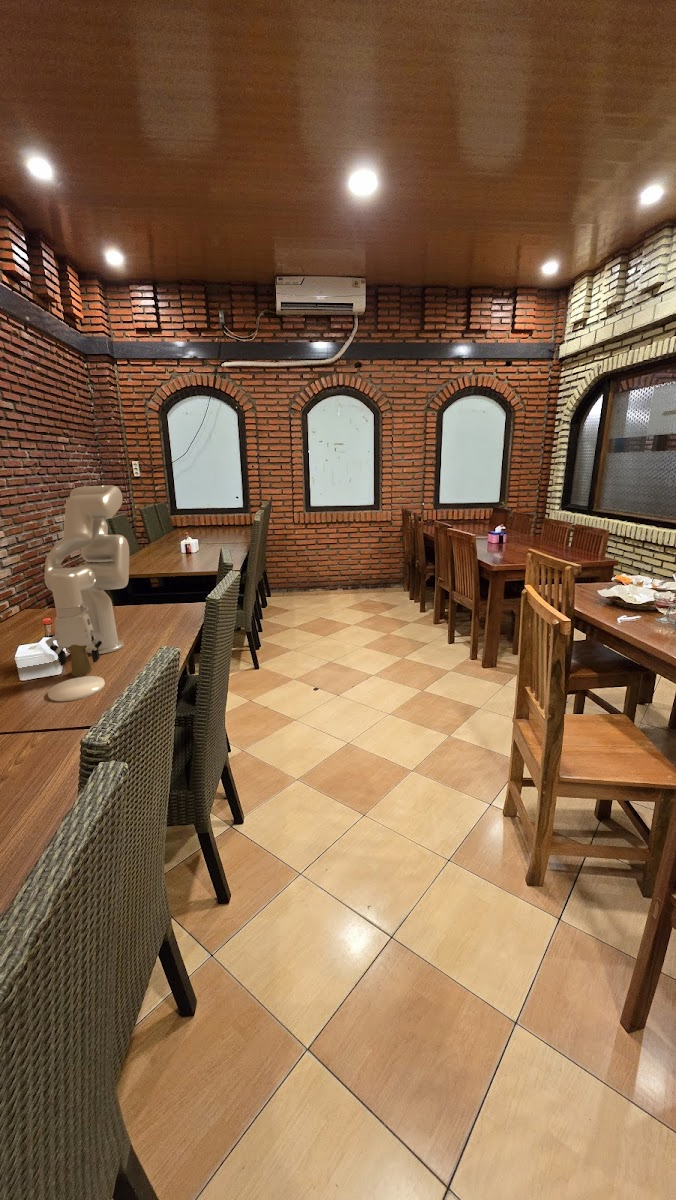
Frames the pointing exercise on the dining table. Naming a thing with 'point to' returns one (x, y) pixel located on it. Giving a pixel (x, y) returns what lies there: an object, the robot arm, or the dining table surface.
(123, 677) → the dining table surface
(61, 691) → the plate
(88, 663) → the cork
